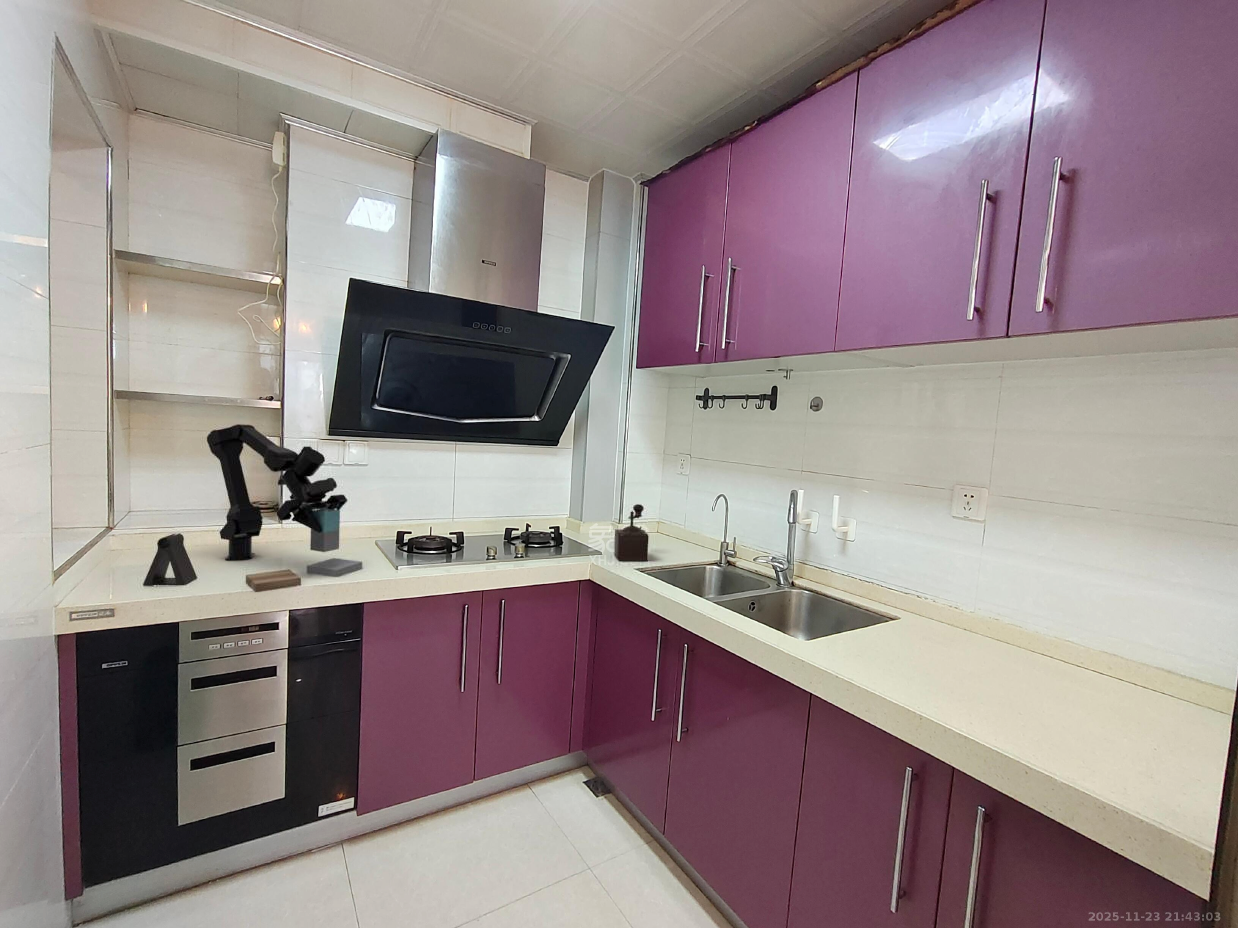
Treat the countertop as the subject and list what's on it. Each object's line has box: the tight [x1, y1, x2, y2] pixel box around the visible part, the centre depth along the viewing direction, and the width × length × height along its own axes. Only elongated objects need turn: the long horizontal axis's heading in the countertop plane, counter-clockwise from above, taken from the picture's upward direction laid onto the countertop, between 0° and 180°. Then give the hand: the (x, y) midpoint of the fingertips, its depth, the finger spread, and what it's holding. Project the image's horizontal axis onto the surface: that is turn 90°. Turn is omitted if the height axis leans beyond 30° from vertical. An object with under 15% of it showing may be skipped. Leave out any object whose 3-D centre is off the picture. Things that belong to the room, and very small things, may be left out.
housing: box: [309, 508, 341, 553], centre depth 153 cm, size 5×5×11 cm
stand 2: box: [306, 557, 363, 578], centre depth 157 cm, size 10×10×2 cm
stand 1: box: [245, 569, 302, 593], centre depth 142 cm, size 10×10×2 cm
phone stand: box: [142, 532, 198, 587], centre depth 139 cm, size 9×6×12 cm, turn 104°
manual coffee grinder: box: [613, 503, 649, 563], centre depth 194 cm, size 16×11×18 cm
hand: (328, 530), depth 152 cm, fingers closed on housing, 5 cm apart
